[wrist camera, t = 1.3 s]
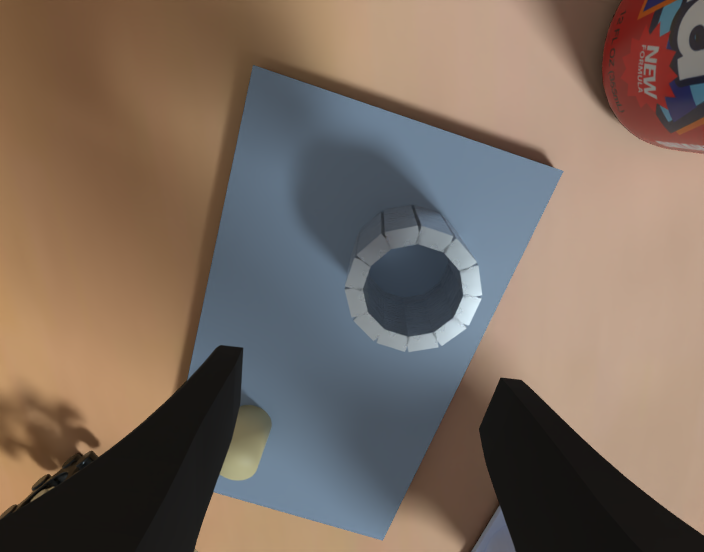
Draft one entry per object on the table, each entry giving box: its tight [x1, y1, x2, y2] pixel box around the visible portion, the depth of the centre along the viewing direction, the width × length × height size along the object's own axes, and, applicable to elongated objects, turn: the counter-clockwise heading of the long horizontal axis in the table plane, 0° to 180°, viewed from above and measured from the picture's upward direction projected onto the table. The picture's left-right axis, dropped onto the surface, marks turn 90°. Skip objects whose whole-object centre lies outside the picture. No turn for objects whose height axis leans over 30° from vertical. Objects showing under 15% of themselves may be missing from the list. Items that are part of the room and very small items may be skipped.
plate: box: [187, 65, 563, 540], centre depth 22 cm, size 14×24×4 cm, turn 162°
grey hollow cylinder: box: [345, 204, 482, 352], centre depth 19 cm, size 5×5×4 cm
